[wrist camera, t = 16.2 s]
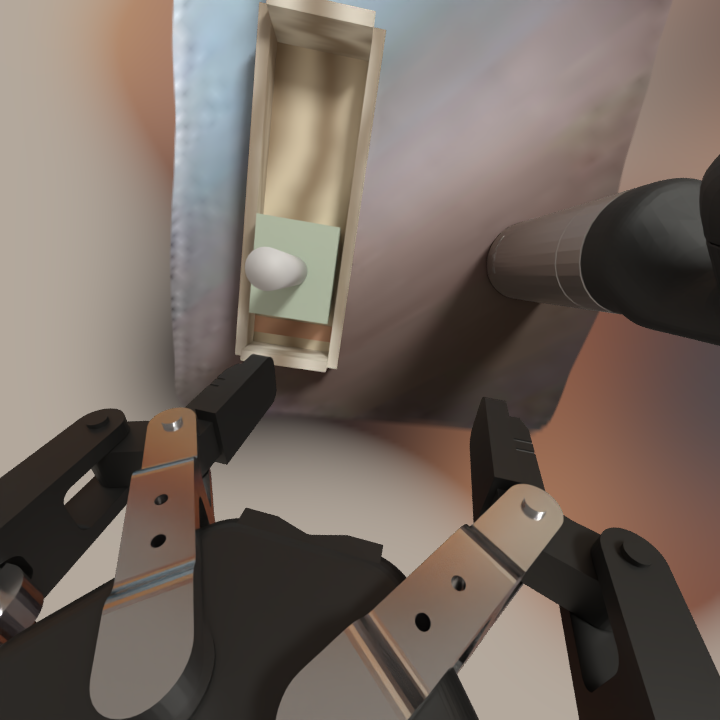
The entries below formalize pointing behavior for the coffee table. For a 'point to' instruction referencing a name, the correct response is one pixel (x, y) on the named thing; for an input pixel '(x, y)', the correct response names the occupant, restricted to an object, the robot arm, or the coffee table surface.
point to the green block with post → (292, 268)
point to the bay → (308, 154)
